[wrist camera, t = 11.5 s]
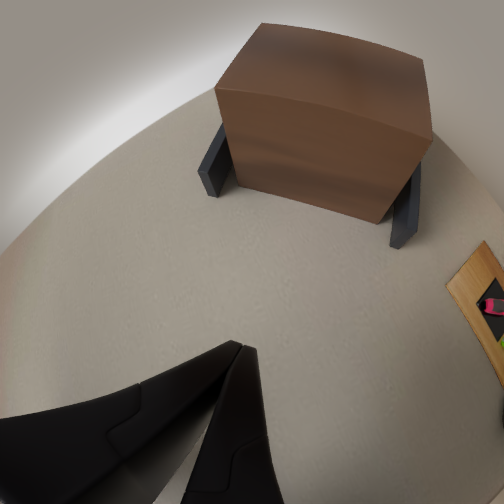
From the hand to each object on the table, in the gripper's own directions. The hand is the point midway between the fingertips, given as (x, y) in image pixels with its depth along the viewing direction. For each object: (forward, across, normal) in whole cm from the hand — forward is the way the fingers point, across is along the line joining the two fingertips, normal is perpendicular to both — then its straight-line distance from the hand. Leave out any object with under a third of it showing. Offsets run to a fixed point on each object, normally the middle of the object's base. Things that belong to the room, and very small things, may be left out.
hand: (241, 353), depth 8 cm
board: (+12, +19, -3) cm, 23 cm away
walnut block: (+18, 0, +3) cm, 18 cm away
